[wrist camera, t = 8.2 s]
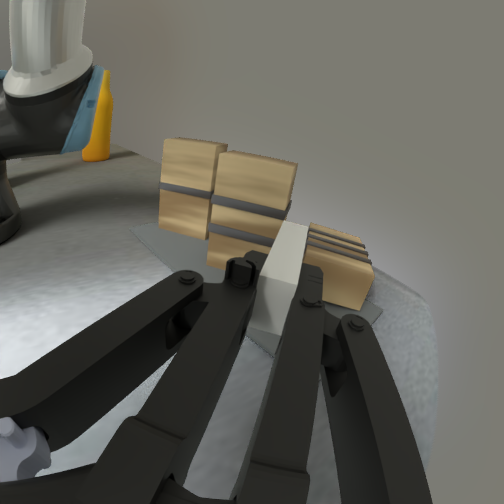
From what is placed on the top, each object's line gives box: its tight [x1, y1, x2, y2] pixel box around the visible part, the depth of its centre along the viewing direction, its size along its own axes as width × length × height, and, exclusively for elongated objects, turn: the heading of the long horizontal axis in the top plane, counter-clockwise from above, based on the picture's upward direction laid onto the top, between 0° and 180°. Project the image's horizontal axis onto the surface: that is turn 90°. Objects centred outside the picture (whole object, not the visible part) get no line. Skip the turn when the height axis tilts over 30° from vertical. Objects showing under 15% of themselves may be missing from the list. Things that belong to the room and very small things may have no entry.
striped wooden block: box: [302, 223, 375, 311], centre depth 31 cm, size 4×7×12 cm
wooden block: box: [206, 150, 298, 270], centre depth 29 cm, size 4×7×12 cm, turn 75°
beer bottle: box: [82, 70, 113, 162], centre depth 69 cm, size 9×9×29 cm
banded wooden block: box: [159, 137, 228, 240], centre depth 35 cm, size 4×7×12 cm, turn 75°
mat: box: [130, 222, 383, 381], centre depth 32 cm, size 30×14×1 cm, turn 45°
